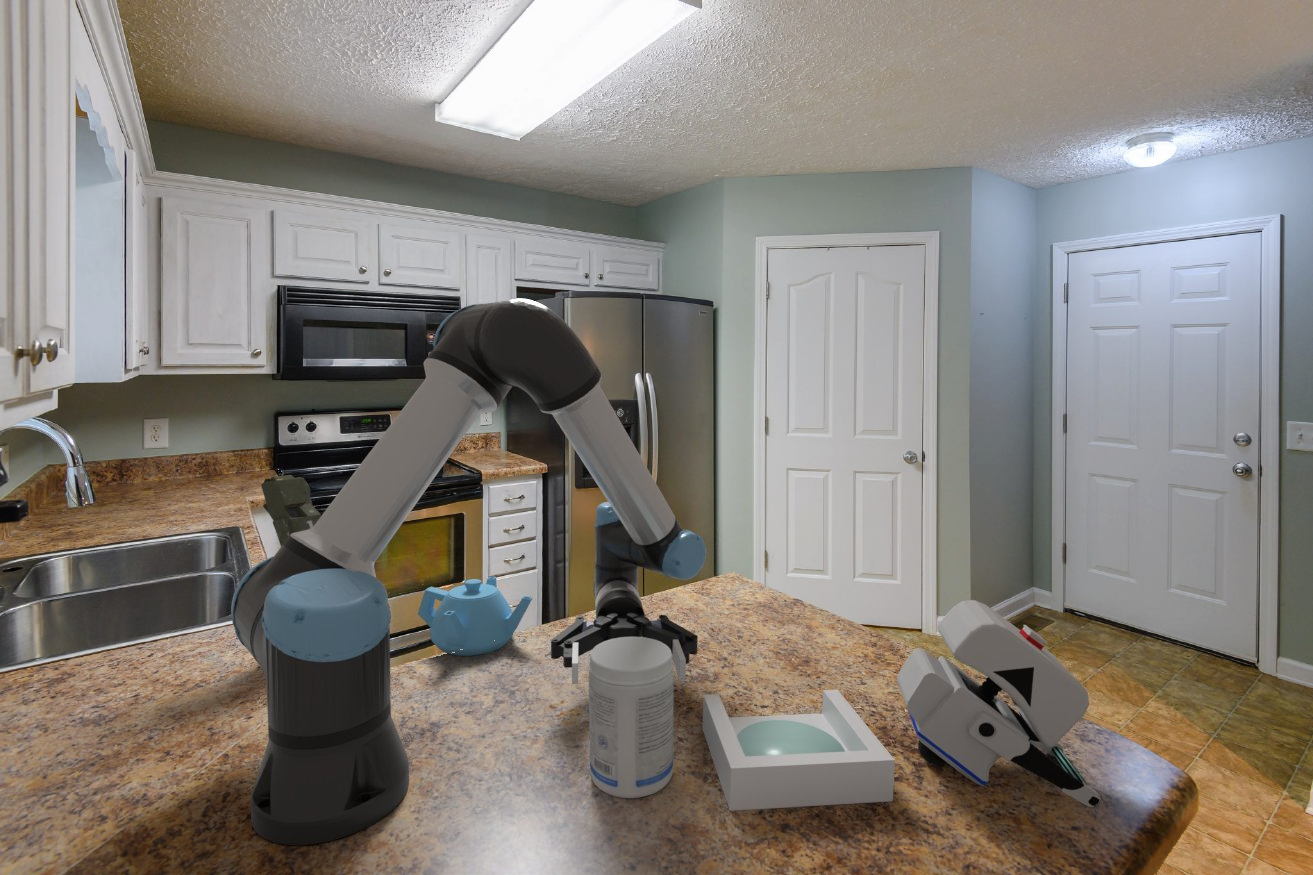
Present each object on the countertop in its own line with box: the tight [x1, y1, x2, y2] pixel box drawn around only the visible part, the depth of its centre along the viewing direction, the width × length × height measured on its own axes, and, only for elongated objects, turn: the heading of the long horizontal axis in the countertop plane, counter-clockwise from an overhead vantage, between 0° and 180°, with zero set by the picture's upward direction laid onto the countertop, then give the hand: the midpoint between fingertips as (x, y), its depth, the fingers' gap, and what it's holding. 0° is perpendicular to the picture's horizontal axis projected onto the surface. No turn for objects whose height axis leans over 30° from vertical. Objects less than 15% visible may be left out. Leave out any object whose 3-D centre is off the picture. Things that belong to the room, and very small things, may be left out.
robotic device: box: [896, 599, 1102, 808], centre depth 76 cm, size 10×21×20 cm
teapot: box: [417, 576, 533, 657], centre depth 111 cm, size 15×15×11 cm
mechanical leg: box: [260, 474, 322, 547], centre depth 106 cm, size 14×7×30 cm, turn 57°
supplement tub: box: [588, 637, 674, 799], centre depth 73 cm, size 10×10×15 cm
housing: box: [702, 689, 896, 812], centre depth 77 cm, size 18×16×5 cm
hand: (629, 672), depth 82 cm, fingers open, 13 cm apart
